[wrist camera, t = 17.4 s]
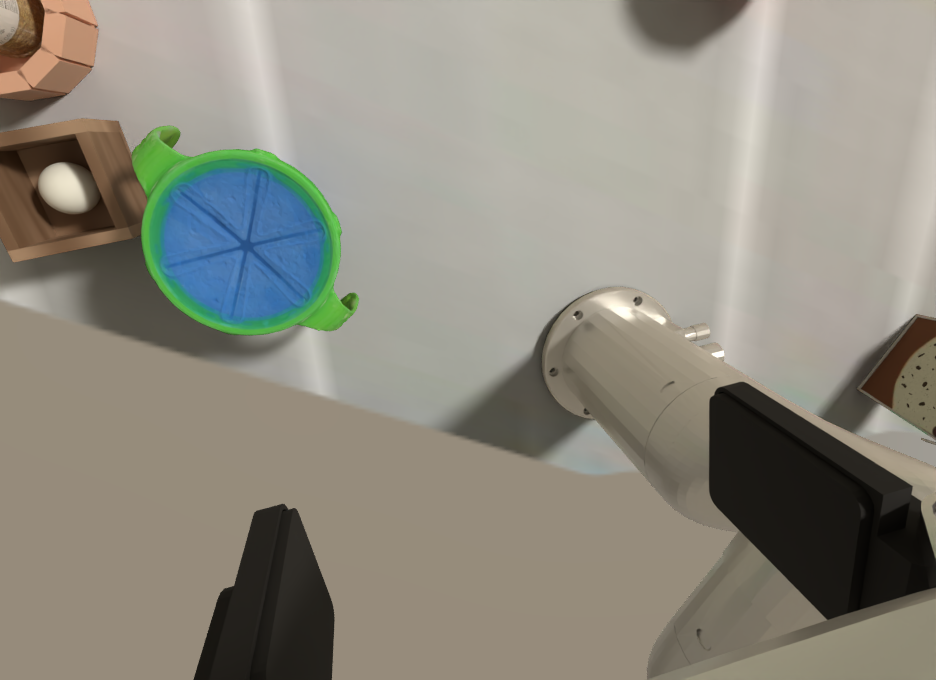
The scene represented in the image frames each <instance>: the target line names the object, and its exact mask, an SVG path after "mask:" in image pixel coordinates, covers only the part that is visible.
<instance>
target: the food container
mask: <svg viewBox="0 0 936 680" xmlns="http://www.w3.org/2000/svg"><path fill="white" fill-rule="evenodd" d="M857 390H859V391H861V392H862V393H864V394H865V395H867V396H868V397H870V398H871V399H873V400H874V401H876V402H878V403H879V404H881V405H882V406H884V407H885V408H887V409H888V410H890V411H891V412H893V413H895V414H896V415H898V416H899V417H901V418H902V419H904V420H905V421H907V422H908V423H910V424H912V425H913V426H915V427H916V428H918V429H919V430H921V431H922V432H924V433H925V434H927V435H928V436H930V437H932V438H933V439H935V440H936V318H932V317H927V316H923V315H918V314H916V315H915V317H914V318H913V319H912V320H911V322H910V323H909V324H908V325H907V327H906V328H905V329H904V330H903V332H902V333H901V334H900V335H899V337H898V338H897V339H896V340H895V342H894V343H893V344H892V345H891V347H890V348H889V349H888V350H887V352H886V353H885V354H884V355H883V357H882V358H881V359H880V360H879V362H878V363H877V364H876V365H875V367H874V368H873V369H872V371H871V372H870V373H869V374H868V376H867V377H866V378H865V379H864V381H863V382H862V383H861V384H860V386H859V387H858V388H857ZM921 440H923V441H925V442H928V443H931V444H934V445H936V442H933V441H930V440H927V439H924V438H921Z"/></svg>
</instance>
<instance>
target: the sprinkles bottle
mask: <svg viewBox="0 0 936 680" xmlns="http://www.w3.org/2000/svg"><path fill="white" fill-rule="evenodd" d="M44 16H45V10H44V7H43V5H42V2H41V0H0V55H3V56H7V57H10V58H27V57H29V56H33V55H34V54H35V53H36V52H37V51H38V50H39V49H40V48H41V44H42V35H43V26H44Z"/></svg>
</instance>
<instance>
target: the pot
mask: <svg viewBox="0 0 936 680" xmlns="http://www.w3.org/2000/svg"><path fill="white" fill-rule="evenodd" d="M41 2H42V5H43V7H44V10H45V16H44V26H43V35H42V44H41V48H40V49H39V50H38V51H37V52H36V53H35V54H34V55H33V56H29V57H27V58H10V57H7V56H3V55H0V98H8V99H16V100H25V101H32V100H38V99H44V98H50V97H56V96H62V95H66V94H65V93H70V91H71V90H72V89H73V88H74V87H75V86H76V85H77V84H78V83H79V82H80V81H81V80H82V79H83V78H84V77H85V76H86V75H87V74H88V73H89V72H90V71H91V70H92V69H91V68H90V67H91V66H94V60H95V52H96V45H97V37H98V29H96V26H98V24H97V22H96V19H95V17H94V14H93V12H92V9H91V6H90V4H89V1H88V0H41Z"/></svg>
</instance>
